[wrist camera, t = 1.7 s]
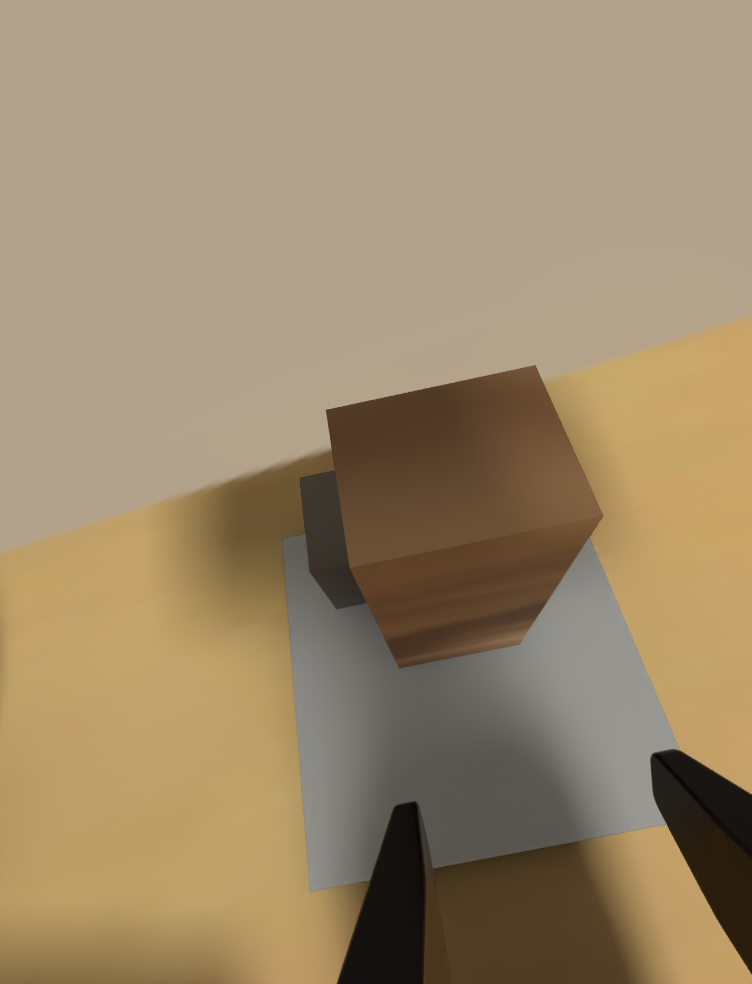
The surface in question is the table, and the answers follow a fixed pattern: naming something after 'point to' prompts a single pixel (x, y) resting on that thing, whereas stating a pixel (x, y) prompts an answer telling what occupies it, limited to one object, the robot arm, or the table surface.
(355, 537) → the tall wooden post
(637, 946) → the table surface
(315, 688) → the grey stand
